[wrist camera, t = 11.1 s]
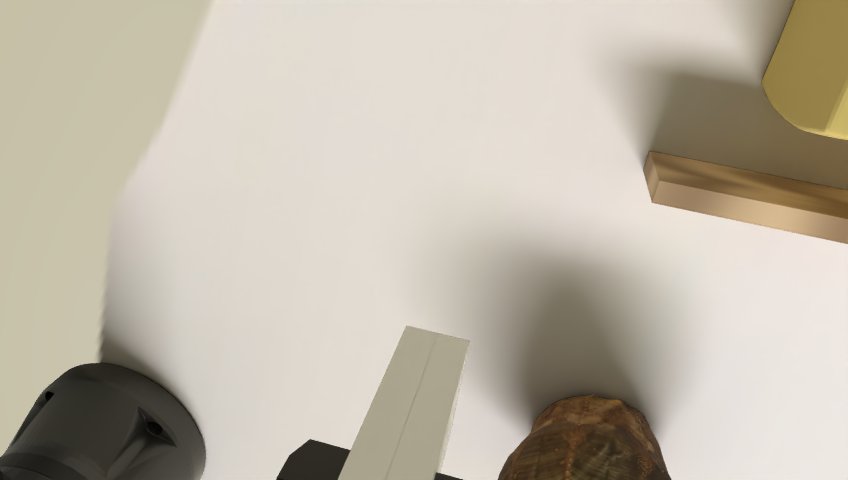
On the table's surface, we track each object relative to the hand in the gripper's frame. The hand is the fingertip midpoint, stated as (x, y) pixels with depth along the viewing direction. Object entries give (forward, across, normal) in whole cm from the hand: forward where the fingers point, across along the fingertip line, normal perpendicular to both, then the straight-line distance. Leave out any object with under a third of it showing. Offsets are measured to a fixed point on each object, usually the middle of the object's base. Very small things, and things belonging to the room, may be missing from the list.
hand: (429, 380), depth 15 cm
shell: (+24, +9, -21) cm, 34 cm away
